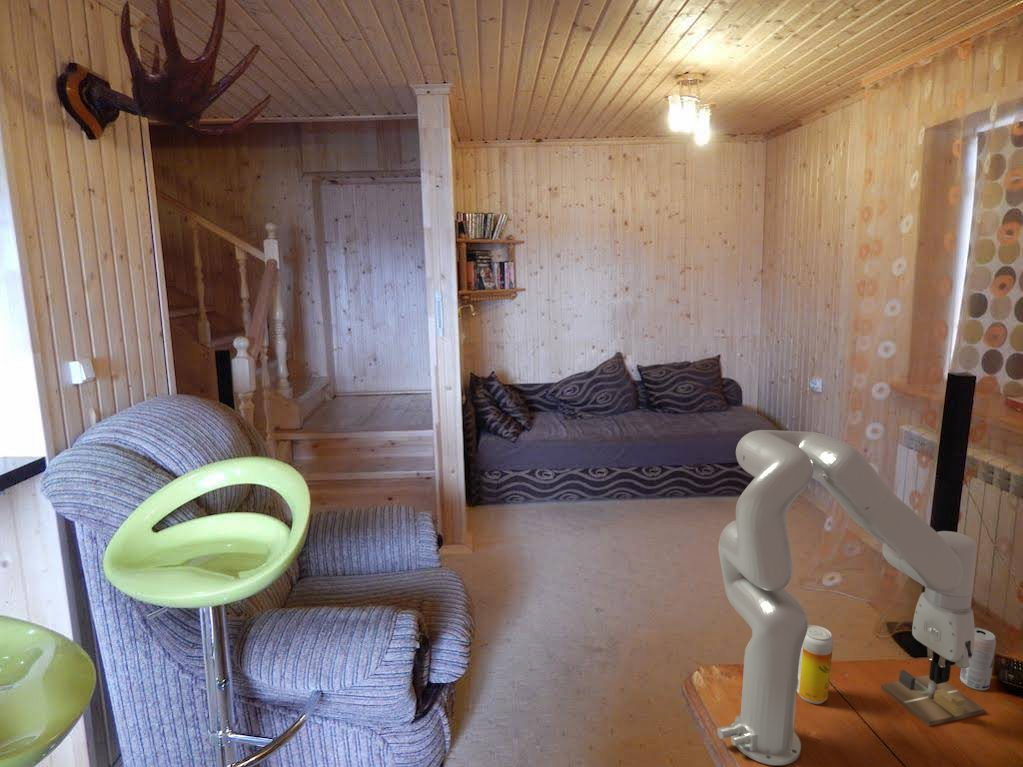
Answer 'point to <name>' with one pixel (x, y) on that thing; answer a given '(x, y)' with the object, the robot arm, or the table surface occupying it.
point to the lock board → (927, 698)
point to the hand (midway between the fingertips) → (939, 680)
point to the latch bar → (949, 702)
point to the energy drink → (980, 661)
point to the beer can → (815, 665)
